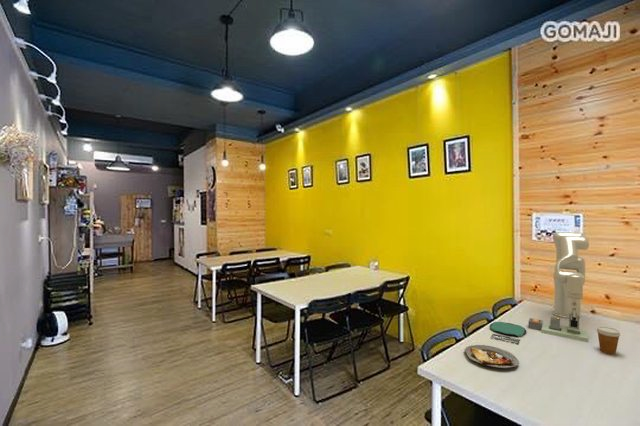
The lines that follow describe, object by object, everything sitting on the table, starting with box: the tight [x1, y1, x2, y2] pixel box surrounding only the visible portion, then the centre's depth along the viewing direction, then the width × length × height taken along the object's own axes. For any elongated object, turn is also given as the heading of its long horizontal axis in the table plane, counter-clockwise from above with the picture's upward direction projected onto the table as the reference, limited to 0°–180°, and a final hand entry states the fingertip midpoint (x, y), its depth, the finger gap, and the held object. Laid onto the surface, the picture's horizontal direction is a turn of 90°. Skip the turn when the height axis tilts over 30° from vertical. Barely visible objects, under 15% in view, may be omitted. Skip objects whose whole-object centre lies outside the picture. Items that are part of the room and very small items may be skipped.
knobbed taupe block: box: [568, 313, 580, 330], centre depth 192 cm, size 5×5×8 cm
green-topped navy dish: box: [489, 321, 527, 345], centre depth 197 cm, size 20×30×2 cm, turn 142°
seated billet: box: [549, 316, 561, 331], centre depth 198 cm, size 5×5×8 cm
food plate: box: [464, 344, 520, 369], centre depth 164 cm, size 25×23×4 cm
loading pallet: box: [528, 317, 589, 343], centre depth 197 cm, size 29×14×5 cm, turn 52°
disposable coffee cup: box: [596, 326, 621, 355], centre depth 172 cm, size 10×10×12 cm
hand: (573, 325), depth 192 cm, fingers closed on knobbed taupe block, 4 cm apart
